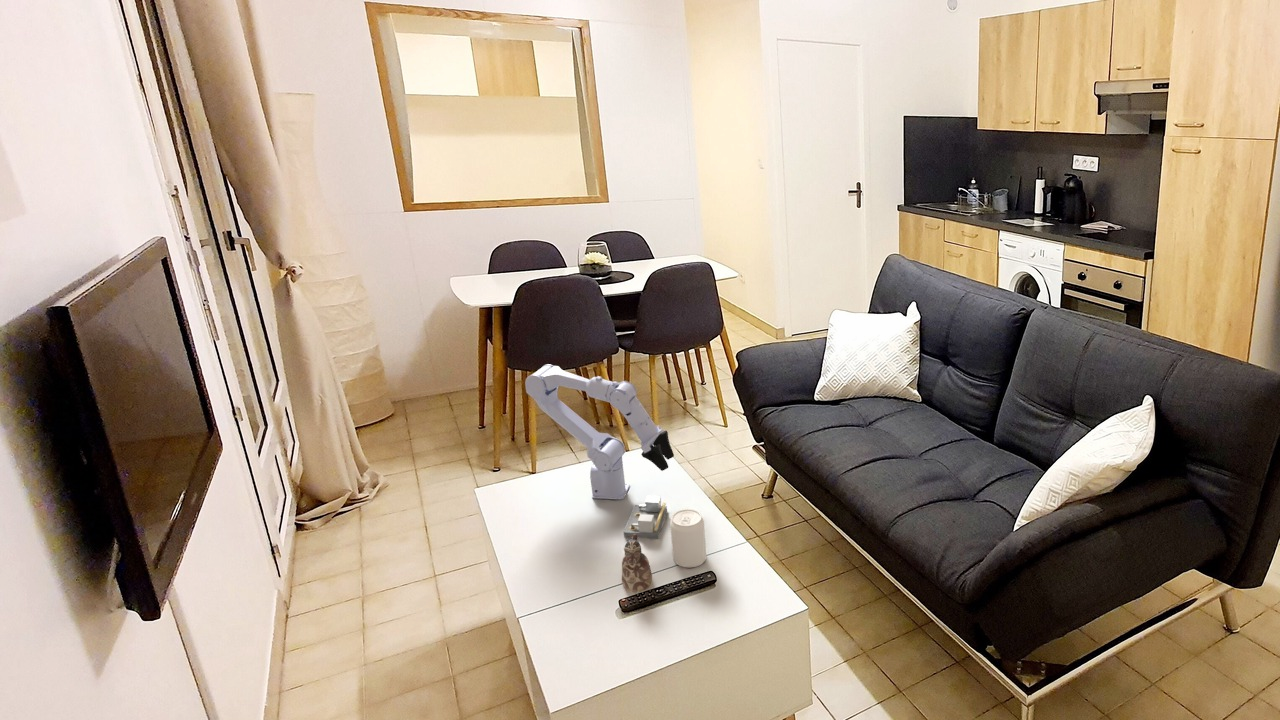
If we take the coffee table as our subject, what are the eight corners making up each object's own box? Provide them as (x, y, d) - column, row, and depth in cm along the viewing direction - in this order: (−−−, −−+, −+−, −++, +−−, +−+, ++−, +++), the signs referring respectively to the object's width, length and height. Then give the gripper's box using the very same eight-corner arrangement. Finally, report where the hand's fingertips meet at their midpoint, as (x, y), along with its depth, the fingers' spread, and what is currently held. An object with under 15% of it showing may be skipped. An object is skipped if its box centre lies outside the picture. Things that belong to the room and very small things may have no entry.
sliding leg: (637, 510, 189) (636, 501, 188) (640, 504, 192) (639, 495, 191) (659, 511, 188) (658, 502, 187) (661, 505, 190) (660, 496, 189)
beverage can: (709, 551, 172) (707, 509, 168) (702, 571, 165) (698, 528, 161) (678, 547, 175) (675, 506, 171) (669, 567, 168) (665, 525, 164)
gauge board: (624, 537, 181) (622, 521, 180) (635, 509, 193) (633, 494, 192) (657, 538, 179) (656, 522, 178) (667, 510, 191) (665, 495, 189)
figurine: (617, 590, 162) (612, 546, 158) (628, 571, 168) (623, 529, 164) (646, 594, 159) (641, 551, 155) (656, 575, 166) (652, 532, 161)
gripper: (646, 425, 182) (674, 467, 183) (658, 407, 196) (685, 446, 197) (625, 437, 185) (653, 479, 186) (638, 418, 198) (664, 457, 199)
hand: (668, 463), depth 192 cm, fingers open, 7 cm apart
